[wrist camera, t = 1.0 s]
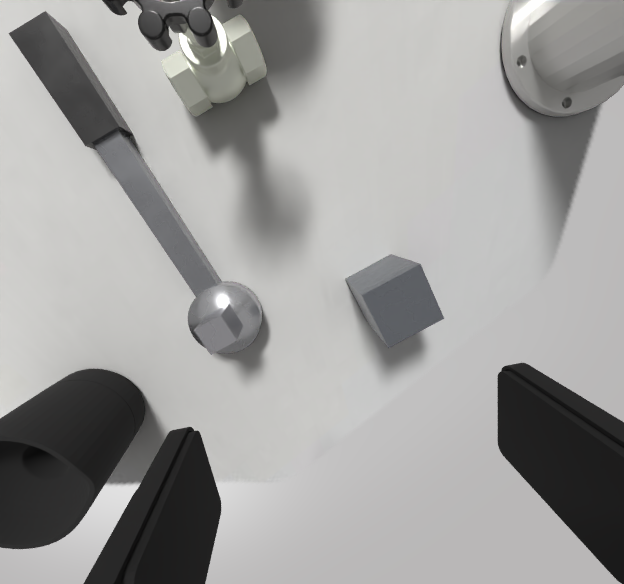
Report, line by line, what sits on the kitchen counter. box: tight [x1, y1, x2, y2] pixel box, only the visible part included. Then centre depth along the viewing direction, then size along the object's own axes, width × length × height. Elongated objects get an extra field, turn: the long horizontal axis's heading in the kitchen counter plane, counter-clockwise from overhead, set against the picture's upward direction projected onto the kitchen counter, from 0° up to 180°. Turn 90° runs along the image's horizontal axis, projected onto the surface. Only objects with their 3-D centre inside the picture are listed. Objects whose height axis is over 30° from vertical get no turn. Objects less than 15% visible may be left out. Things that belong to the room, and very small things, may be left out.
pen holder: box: [0, 369, 145, 549], centre depth 25 cm, size 9×9×10 cm
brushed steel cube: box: [346, 255, 444, 348], centre depth 26 cm, size 5×5×6 cm
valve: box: [102, 0, 267, 117], centre depth 18 cm, size 7×7×12 cm
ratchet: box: [9, 11, 262, 355], centre depth 23 cm, size 6×28×6 cm, turn 28°
